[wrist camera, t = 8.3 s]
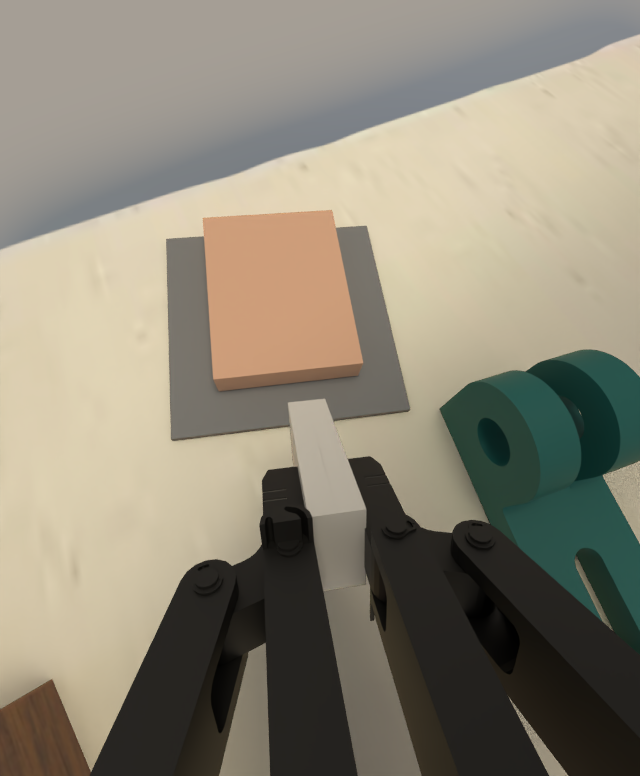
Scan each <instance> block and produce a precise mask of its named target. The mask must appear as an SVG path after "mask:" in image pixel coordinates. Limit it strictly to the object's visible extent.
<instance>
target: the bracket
mask: <svg viewBox="0 0 640 776" xmlns="http://www.w3.org/2000/svg"><path fill="white" fill-rule="evenodd" d="M578 409H579V410H578ZM440 411H441V413H442V416H443V418H444V420H445V423H446V425H447V427H448V429H449V432H450V434H451V436H452V438H453V441H454V443H455V445H456V447H457V450H458V452H459V454H460V456H461V459H462V461H463V463H464V465H465V468H466V470H467V472H468V475H469V477H470V479H471V481H472V484H473V486H474V488H475V490H476V493H477V495H478V497H479V499H480V502H481V504H482V506H483V508H484V511H485V513H486V515H487V518H488V520H489V522H490V524H491V525H492V526H494V527H495V528H497V529H498V530H500V531H501V532H502V533H503V534H504V535H505V536H506V537H508V538H509V539H510V540H511V541H512V542H513V543H514V544H515V545H517V546H518V547H519V548H520V549H521V550H522V551H523V552H524V553H526V554H527V555H528V556H529V557H530V558H531V559H532V560H533V561H535V562H536V563H537V564H538V565H539V566H540V567H541V568H542V569H544V570H545V571H546V572H547V573H548V574H549V575H550V576H551V577H553V578H554V579H555V580H556V581H557V582H558V583H559V584H560V585H562V586H563V587H564V588H565V589H566V590H567V591H568V592H569V593H571V594H572V595H573V596H574V597H575V598H576V599H577V600H578V601H580V602H581V603H582V604H583V605H584V606H585V607H586V608H587V609H589V610H590V611H591V612H592V613H593V614H594V615H595V616H596V617H598V618H599V619H600V620H601V618H600V616H599V614H598V612H597V610H596V608H595V606H594V603H593V601H592V599H591V597H590V595H589V593H588V591H587V589H586V587H585V585H584V583H583V581H582V579H581V577H580V575H579V573H578V571H577V569H576V566H575V555H576V556H577V557H578V559H579V562H580V564H581V566H582V568H583V570H584V572H585V574H586V576H587V578H588V580H589V582H590V584H591V586H592V588H593V590H594V592H595V594H596V596H597V598H598V600H599V602H600V604H601V606H602V608H603V610H604V612H605V614H606V616H607V618H608V620H609V622H610V624H611V626H612V628H613V630H614V632H615V633H616V634H617V635H618V636H619V637H620V638H621V639H622V640H624V641H625V642H626V643H627V644H628V645H629V646H630V647H631V648H633V649H634V650H635V651H636V652H637V653H638V654H639V655H640V544H639V542H638V540H637V538H636V536H635V535H634V533H633V531H632V529H631V527H630V525H629V524H628V522H627V520H626V518H625V516H624V515H623V513H622V511H621V509H620V507H619V505H618V504H617V502H616V500H615V498H614V496H613V495H612V493H611V491H610V489H609V487H608V486H607V484H606V482H605V480H604V478H603V475H604V474H606V473H609V472H612V471H614V470H617V469H620V468H623V467H625V466H628V465H631V464H633V463H636V462H638V461H640V377H639V376H638V375H637V374H636V373H635V372H634V371H633V370H632V369H631V368H630V367H629V366H628V365H626V364H625V363H624V362H623V361H621V360H619V359H618V358H616V357H614V356H612V355H610V354H607V353H605V352H601V351H597V350H579V351H575V352H572V353H569V354H565V355H562V356H559V357H555V358H552V359H549V360H545V361H542V362H540V363H537V364H536V365H534V366H533V367H531V368H530V369H529V370H527V371H526V372H524V371H517V370H516V371H509V372H505V373H502V374H499V375H495V376H492V377H489V378H485V379H482V380H478V381H475V382H472V383H470V384H468V385H467V386H465V387H464V388H463V389H462V390H461V391H460V392H459V393H457V394H456V395H455V396H454V397H453V398H452V399H450V400H449V401H448V402H447V403H446V404H445V405H444V406H442V407H441V408H440ZM579 411H580V412H579ZM580 413H581V414H580ZM581 415H582V416H581ZM601 621H602V620H601Z"/></svg>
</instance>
